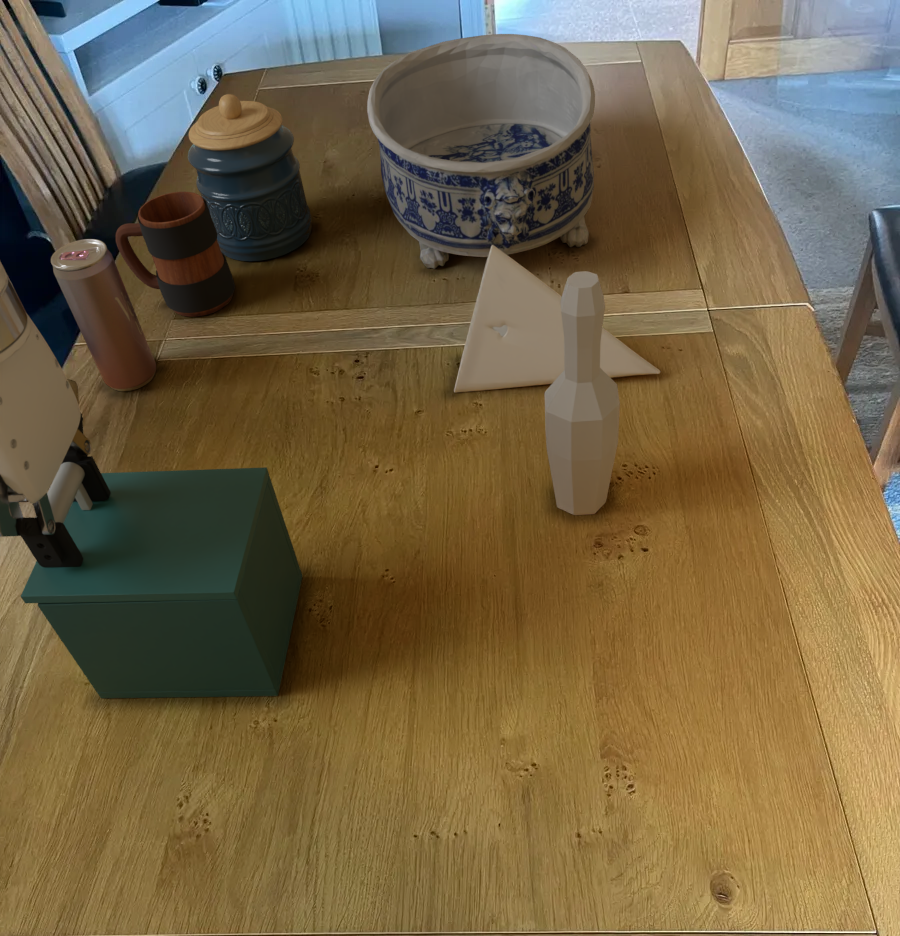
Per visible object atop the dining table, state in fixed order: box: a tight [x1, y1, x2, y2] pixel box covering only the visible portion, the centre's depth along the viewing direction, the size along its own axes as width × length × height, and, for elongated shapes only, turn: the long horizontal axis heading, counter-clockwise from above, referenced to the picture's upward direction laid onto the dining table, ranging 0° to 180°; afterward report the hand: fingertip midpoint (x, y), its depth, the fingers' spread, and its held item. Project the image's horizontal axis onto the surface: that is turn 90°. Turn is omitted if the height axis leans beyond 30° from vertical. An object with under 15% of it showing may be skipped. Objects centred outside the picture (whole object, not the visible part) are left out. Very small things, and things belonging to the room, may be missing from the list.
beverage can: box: [50, 238, 157, 392], centre depth 99 cm, size 6×6×15 cm
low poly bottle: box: [544, 270, 621, 516], centre depth 77 cm, size 6×6×22 cm
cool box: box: [37, 475, 303, 699], centre depth 75 cm, size 15×13×12 cm
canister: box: [187, 93, 313, 262], centre depth 116 cm, size 13×13×18 cm
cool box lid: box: [20, 462, 270, 604], centre depth 68 cm, size 16×13×5 cm
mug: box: [115, 191, 236, 318], centre depth 110 cm, size 9×12×12 cm
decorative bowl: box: [366, 33, 596, 270], centre depth 115 cm, size 42×27×15 cm, turn 9°
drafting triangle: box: [453, 245, 661, 393], centre depth 96 cm, size 15×6×20 cm
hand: (76, 528), depth 70 cm, fingers closed on cool box lid, 6 cm apart
